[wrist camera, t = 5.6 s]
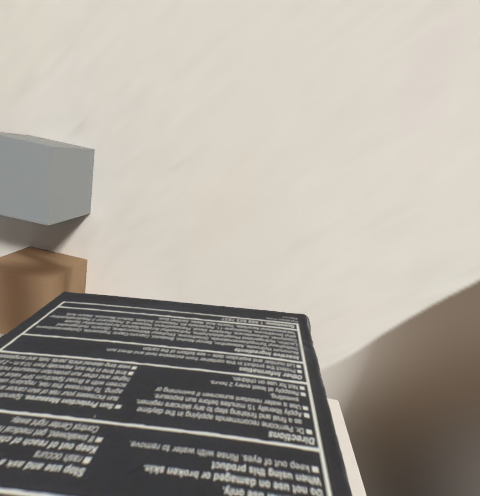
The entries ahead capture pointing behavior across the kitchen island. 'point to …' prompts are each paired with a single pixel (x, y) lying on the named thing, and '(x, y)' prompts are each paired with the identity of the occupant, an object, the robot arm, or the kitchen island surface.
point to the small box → (164, 402)
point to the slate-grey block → (44, 179)
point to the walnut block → (35, 282)
